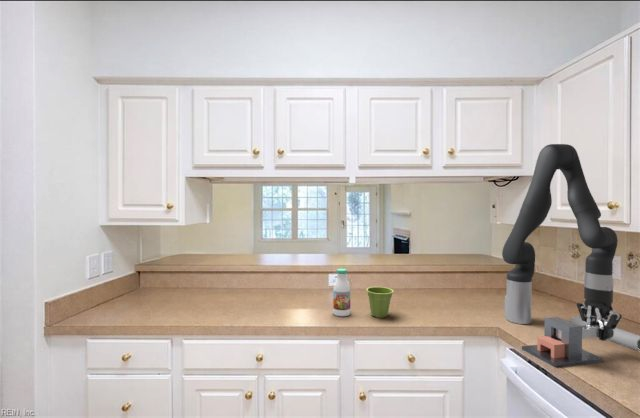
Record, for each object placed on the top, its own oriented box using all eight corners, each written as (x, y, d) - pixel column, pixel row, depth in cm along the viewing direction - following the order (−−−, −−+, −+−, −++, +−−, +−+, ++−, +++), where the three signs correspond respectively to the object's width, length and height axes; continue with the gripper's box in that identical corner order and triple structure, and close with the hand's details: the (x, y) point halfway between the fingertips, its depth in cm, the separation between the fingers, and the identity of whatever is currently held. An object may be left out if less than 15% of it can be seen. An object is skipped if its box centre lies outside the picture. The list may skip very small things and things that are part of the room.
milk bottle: (330, 312, 155) (330, 268, 154) (346, 310, 157) (346, 267, 157) (337, 317, 148) (337, 271, 147) (353, 315, 150) (353, 270, 150)
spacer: (537, 349, 113) (537, 337, 113) (547, 348, 114) (547, 336, 114) (554, 358, 107) (554, 345, 107) (564, 357, 108) (564, 343, 108)
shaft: (552, 339, 114) (552, 322, 114) (596, 335, 118) (596, 319, 118) (567, 346, 109) (567, 328, 108) (613, 341, 112) (613, 324, 112)
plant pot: (374, 321, 143) (375, 294, 143) (361, 312, 154) (361, 288, 154) (398, 317, 147) (398, 291, 147) (383, 309, 158) (384, 285, 158)
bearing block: (521, 349, 116) (522, 317, 116) (566, 344, 120) (566, 314, 119) (555, 367, 103) (555, 331, 103) (603, 361, 107) (604, 327, 107)
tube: (566, 316, 138) (635, 340, 114) (576, 311, 139) (647, 334, 115) (569, 328, 138) (639, 355, 114) (580, 323, 140) (650, 348, 115)
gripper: (569, 282, 120) (568, 331, 120) (611, 292, 106) (610, 347, 107) (587, 281, 122) (586, 329, 122) (630, 291, 108) (629, 345, 108)
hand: (597, 337), depth 114 cm, fingers closed on shaft, 3 cm apart
